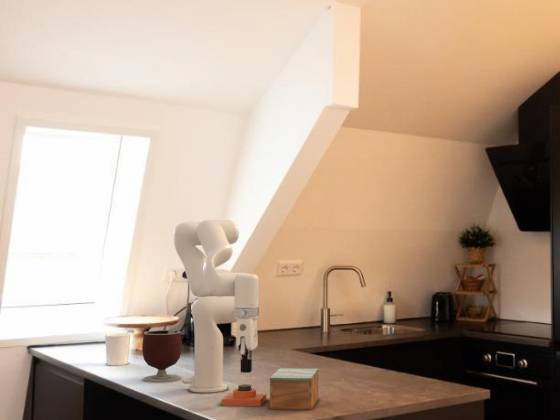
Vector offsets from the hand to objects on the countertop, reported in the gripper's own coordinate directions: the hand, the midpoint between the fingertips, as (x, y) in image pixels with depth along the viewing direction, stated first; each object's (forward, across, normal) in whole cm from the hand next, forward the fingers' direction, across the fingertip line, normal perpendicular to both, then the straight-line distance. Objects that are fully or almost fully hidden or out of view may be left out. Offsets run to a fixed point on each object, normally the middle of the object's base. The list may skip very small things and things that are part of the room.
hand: (246, 371), depth 239 cm
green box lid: (+1, -1, -16) cm, 16 cm away
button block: (+10, 0, 0) cm, 10 cm away
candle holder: (+9, +71, +69) cm, 100 cm away
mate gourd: (+9, +39, +39) cm, 56 cm away
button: (+6, 0, 0) cm, 6 cm away
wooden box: (+10, -1, -16) cm, 18 cm away
